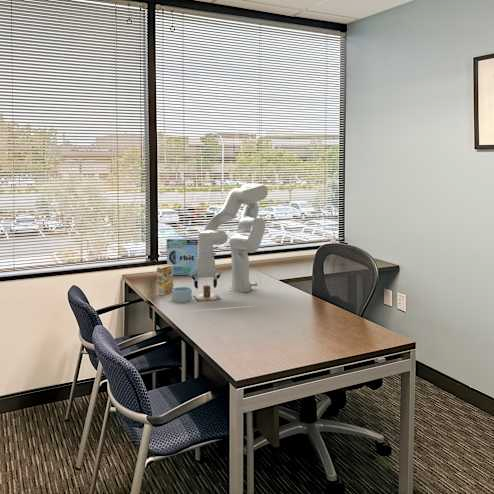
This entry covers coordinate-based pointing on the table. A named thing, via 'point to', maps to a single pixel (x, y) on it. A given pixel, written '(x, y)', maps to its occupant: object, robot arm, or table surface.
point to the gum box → (182, 255)
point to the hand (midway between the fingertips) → (205, 287)
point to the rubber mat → (203, 301)
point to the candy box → (165, 279)
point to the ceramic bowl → (181, 294)
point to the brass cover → (206, 294)
